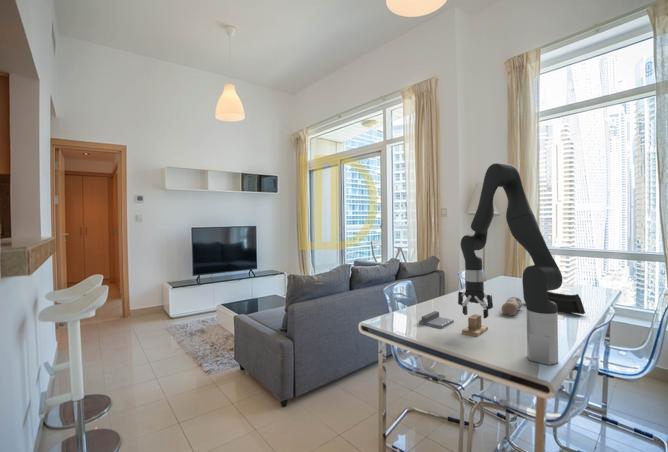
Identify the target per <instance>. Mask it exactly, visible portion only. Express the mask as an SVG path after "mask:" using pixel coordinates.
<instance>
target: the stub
mask: <svg viewBox="0 0 668 452" xmlns="http://www.w3.org/2000/svg"><path fill="white" fill-rule="evenodd" d="M467 319H468V320H467V322H468V326H466V327H465V328H463V329H462V330H461V333H462V334H465V335H469V336H472V337H473V336H474V337H478V336H480V335H482V334H484V333H485V332H486V331H488V330H489V326H485V325H482V315H481V314H476V313H474V314H471V315H470V316H468V317H467Z"/></svg>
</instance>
